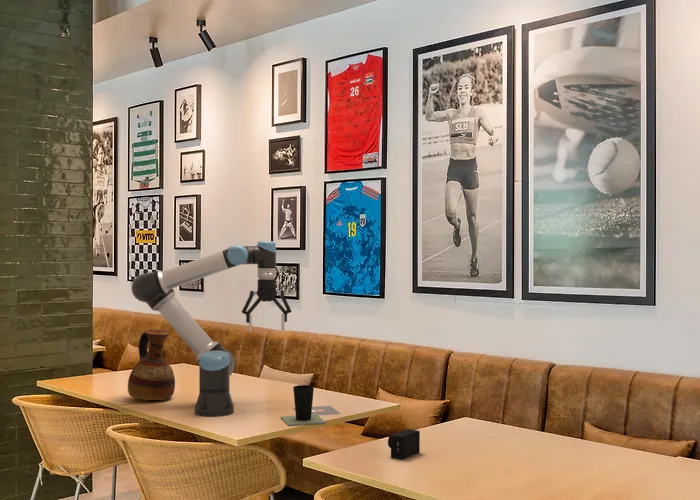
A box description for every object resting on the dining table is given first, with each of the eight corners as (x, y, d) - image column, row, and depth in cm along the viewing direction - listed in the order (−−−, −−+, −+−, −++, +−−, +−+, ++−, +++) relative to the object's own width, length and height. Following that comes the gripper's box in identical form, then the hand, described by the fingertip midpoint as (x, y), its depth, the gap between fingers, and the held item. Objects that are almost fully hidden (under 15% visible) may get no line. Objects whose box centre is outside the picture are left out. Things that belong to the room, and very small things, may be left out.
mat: (288, 426, 270) (288, 424, 270) (280, 418, 283) (280, 416, 283) (325, 423, 274) (325, 422, 274) (316, 415, 287) (316, 414, 287)
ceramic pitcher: (147, 405, 307) (147, 332, 307) (117, 400, 319) (117, 329, 319) (184, 398, 322) (184, 329, 322) (154, 393, 334) (155, 326, 335)
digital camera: (404, 450, 237) (404, 428, 237) (419, 452, 234) (419, 430, 234) (387, 457, 229) (387, 434, 229) (402, 460, 225) (402, 436, 225)
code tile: (300, 418, 287) (300, 416, 287) (292, 410, 302) (292, 407, 302) (341, 416, 291) (341, 413, 291) (330, 408, 307) (330, 405, 307)
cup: (289, 420, 277) (289, 387, 277) (300, 416, 284) (300, 384, 284) (306, 422, 274) (306, 389, 274) (317, 418, 280) (317, 386, 280)
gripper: (237, 279, 300) (237, 332, 300) (298, 278, 307) (298, 330, 307) (235, 278, 308) (234, 330, 308) (294, 278, 315) (294, 328, 315)
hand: (266, 330), depth 307 cm, fingers open, 13 cm apart
